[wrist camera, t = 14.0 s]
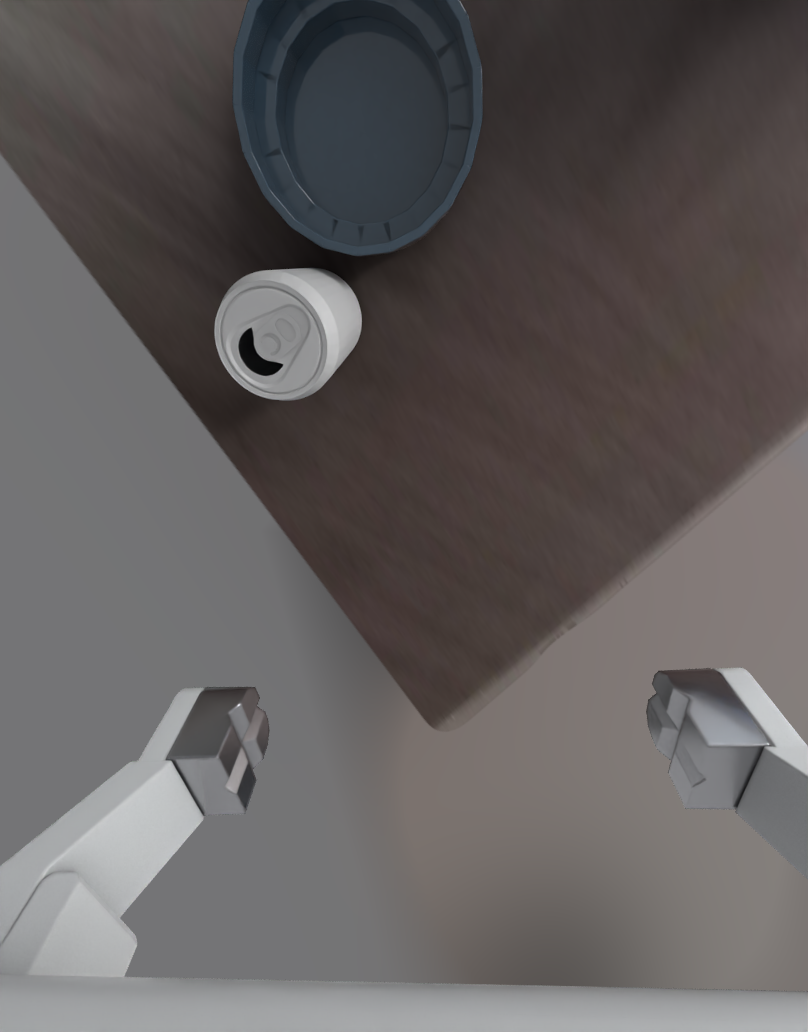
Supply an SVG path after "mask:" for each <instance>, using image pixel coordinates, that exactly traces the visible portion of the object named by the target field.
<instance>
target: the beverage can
mask: <svg viewBox="0 0 808 1032" xmlns="http://www.w3.org/2000/svg"><path fill="white" fill-rule="evenodd" d="M361 326H362V316H361V310H360V306H359V303H358V300H357V298H356V296H355V294H354V292H353V291H352V289H351V288H350V287H349V285H348V284H347V283H346V282H345V281H344V280H343V279H341V278H340V277H339V276H337V275H336V274H334V273H332V272H330V271H328V270H324V269H320V268H298V269H280V270H265V271H258V272H254V273H251V274H249V275H246V276H245V277H243V278H241V279H240V280H238V281H237V282H236V283H235V284H233V285H232V287H231V288H230V289H229V290H228V291H227V293H226V294H225V296H224V298H223V300H222V302H221V305H220V307H219V309H218V312H217V315H216V319H215V327H214V334H215V343H216V347H217V350H218V353H219V356H220V359H221V361H222V363H223V364H224V366H225V368H226V369H227V371H228V372H229V374H230V375H231V376H232V377H233V378H234V379H235V380H236V381H237V382H238V383H239V384H240V385H241V386H242V387H244V388H245V389H247V390H248V391H250V392H252V393H254V394H256V395H258V396H261V397H264V398H268V399H274V400H297V399H301V398H305V397H307V396H309V395H311V394H313V393H315V392H316V391H318V390H319V389H320V388H321V387H322V386H323V385H324V384H325V383H326V382H327V381H328V379H329V378H330V377H331V376H332V375H333V373H334V372H335V371H336V370H337V368H338V367H339V366H340V365H341V364H342V362H343V361H344V360H345V359H346V357H347V356H348V355H349V354H350V352H351V351H352V350H353V349H354V347H355V345H356V344H357V342H358V339H359V336H360V332H361Z"/></svg>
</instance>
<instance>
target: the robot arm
mask: <svg viewBox="0 0 808 1032" xmlns="http://www.w3.org/2000/svg"><path fill="white" fill-rule="evenodd" d="M652 685H653V687H654V689H655V691H656V694H655V695H654V696H652V697H651V698H650V699H649V700H648V706H647V711H646V712H647V720H648V727H649V730H650V733H651V737H652V739H653V741H654V743H655V746H656V748H657V750H659V751H660V752H661V753H662V754H663V755H665V756H666V757H667V758H669V759H670V760H671V763H670V767H669V771H668V773H669V775H670V778H671V779H672V782H673V784H674V786H675V788H676V790H677V792H678V794H679V796H680V798H681V800H682V803H683V804H684V807H685V809H736V813H737V814H738V815H739V816H740V817H741V818H742V819H743V820H744V821H746V823H748V824H749V825H750V826H751V827H752V828H753V829H754V830H755V831H756V832H757V833H758V834H760V836H762V837H763V838H764V839H765V840H766V841H767V842H768V843H769V844H770V845H771V846H772V847H773V848H774V849H776V850H777V851H778V852H779V853H780V854H781V855H782V856H783V857H784V858H785V859H786V860H787V861H789V862H790V863H791V864H792V865H793V866H794V867H795V868H796V869H797V870H798V871H799V872H800V873H801V874H802V875H804V876H805V877H806V878H807V879H808V746H807V745H806V744H805V742H804V741H803V740H802V739H801V738H800V736H799V735H798V734H797V732H796V731H795V730H794V728H793V727H792V726H791V725H790V723H789V722H788V721H787V720H786V718H785V717H784V716H783V715H782V714H781V712H780V711H779V710H778V708H777V707H776V706H775V705H774V703H773V702H772V701H771V700H770V698H769V697H768V696H767V695H766V693H765V692H764V691H763V689H762V688H761V687H760V686H759V684H758V683H757V682H756V681H755V679H754V678H753V677H752V676H751V674H750V673H749V672H748V671H746V670H745V669H743V668H717V669H710V668H706V669H688V670H667V671H658V672H657V673H656V674H655V675H654V679H653V683H652ZM259 699H260V697H259V695H258V693H257V691H256V688H255V687H206V688H183V689H182V690H181V691H180V692H179V693H177V695H176V696H175V698H174V699H173V701H172V703H171V705H170V706H169V708H168V710H167V712H166V713H165V715H164V717H163V718H162V720H161V722H160V724H159V726H158V727H157V729H156V730H155V732H154V734H153V736H152V737H151V739H150V741H149V743H148V744H147V746H146V748H145V750H144V751H143V753H142V755H141V756H140V758H139V760H138V761H131V762H129V763H128V764H127V765H126V766H124V767H123V768H122V769H121V770H120V771H118V772H117V773H116V774H114V775H113V776H112V777H111V778H109V779H108V780H107V781H106V782H105V783H103V784H102V785H101V786H99V787H98V788H97V789H96V790H94V791H93V792H92V793H91V794H89V795H88V796H87V797H86V798H85V799H83V800H82V801H81V802H79V803H78V804H77V805H76V806H74V807H73V808H72V809H71V810H69V811H68V812H67V813H66V814H65V815H63V816H62V817H61V818H60V819H58V820H57V821H56V822H55V823H53V824H52V825H51V826H50V827H48V828H47V829H46V830H45V831H43V832H42V833H41V834H40V835H38V836H37V837H36V838H35V839H33V840H32V841H31V842H30V843H28V844H27V845H26V846H25V847H23V848H22V849H21V850H20V851H18V852H17V853H16V854H15V855H13V856H12V857H11V858H10V859H8V860H7V861H6V862H5V863H3V864H2V865H1V866H0V1032H808V991H766V990H718V989H670V988H623V987H576V986H575V987H574V986H573V987H572V986H525V985H481V984H433V983H385V982H338V981H337V982H336V981H335V982H334V981H291V980H287V981H286V980H243V979H242V980H240V979H194V978H146V977H124V976H125V973H126V971H127V968H128V966H129V964H130V961H131V958H132V956H133V954H134V951H135V949H136V946H137V940H136V936H135V934H134V933H133V932H132V931H131V930H130V929H129V928H128V927H127V926H126V925H125V923H124V922H123V921H122V920H121V919H120V917H121V916H122V914H123V913H124V912H125V911H126V910H127V909H128V907H129V906H130V905H131V904H132V903H133V901H134V900H135V899H136V898H137V897H138V895H139V894H140V893H141V892H142V891H143V890H144V889H145V887H146V886H147V885H148V884H149V883H150V882H151V880H152V879H153V878H154V877H155V876H156V874H157V873H158V872H159V871H160V870H161V868H162V867H163V866H164V865H165V864H166V863H167V862H168V860H169V859H170V858H171V857H172V856H173V855H174V853H175V852H176V851H177V850H178V849H179V847H180V846H181V845H182V844H183V843H184V841H185V840H186V839H187V838H188V837H189V836H190V834H191V833H192V832H193V831H194V830H195V829H196V827H197V826H198V825H199V824H200V823H201V822H202V820H203V819H204V816H207V815H229V814H245V813H246V810H247V807H248V804H249V801H250V798H251V795H252V792H253V789H254V786H255V783H256V777H255V775H254V772H253V769H254V768H255V767H256V766H257V764H259V763H260V762H261V761H262V760H263V758H264V755H265V752H266V749H267V745H268V737H269V724H268V718H267V716H266V713H265V711H263V710H262V709H260V708H259V707H258V706H257V704H258V701H259Z"/></svg>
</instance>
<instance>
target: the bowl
mask: <svg viewBox="0 0 808 1032" xmlns="http://www.w3.org/2000/svg"><path fill="white" fill-rule="evenodd" d="M248 1H249V2H247V6H246V9H245V13H244V16H243V20H242V23H241V27H240V31H239V34H238V38H237V41H236V45H235V48H234V56H233V109H234V114H235V118H236V123H237V128H238V132H239V137H240V141H241V146H242V151H243V153H244V156H245V158H246V161H247V163H248V165H249V167H250V169H251V171H252V173H253V175H254V177H255V179H256V181H257V183H258V185H259V187H260V189H261V192H262V194H263V195H264V197H265V198H266V199H267V200H268V201H269V203H270V204H271V205H272V206H273V207H274V208H275V210H276V211H277V212H278V213H279V214H280V215H281V217H282V218H283V219H284V220H285V221H286V222H287V224H288V225H289V226H290V227H291V228H292V229H294V230H296V231H297V232H299V233H300V234H302V235H303V236H305V237H306V238H308V239H309V240H311V241H313V242H314V243H316V244H317V245H319V246H320V247H323V248H325V249H329V250H333V251H337V252H341V253H345V254H349V255H353V256H374V255H382V254H391V253H395V252H398V251H400V250H402V249H404V248H406V247H408V246H409V245H411V244H413V243H415V242H417V241H419V240H421V239H423V238H424V237H425V236H426V235H427V234H428V233H429V232H430V231H431V230H432V229H433V228H434V227H435V226H436V225H437V224H438V223H439V222H440V221H441V220H442V219H443V218H444V217H445V216H446V215H447V213H448V212H449V210H450V208H451V206H452V205H453V203H454V201H455V199H456V197H457V195H458V193H459V191H460V189H461V187H462V186H463V184H464V182H465V180H466V178H467V176H468V174H469V172H470V170H471V167H472V163H473V159H474V155H475V150H476V146H477V142H478V137H479V133H480V129H481V124H482V119H483V109H482V67H481V61H480V58H479V54H478V50H477V46H476V43H475V39H474V35H473V31H472V28H471V24H470V20H469V16H468V15H467V12H466V10H465V8H464V7H463V5H462V3H461V2H460V0H248Z"/></svg>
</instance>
